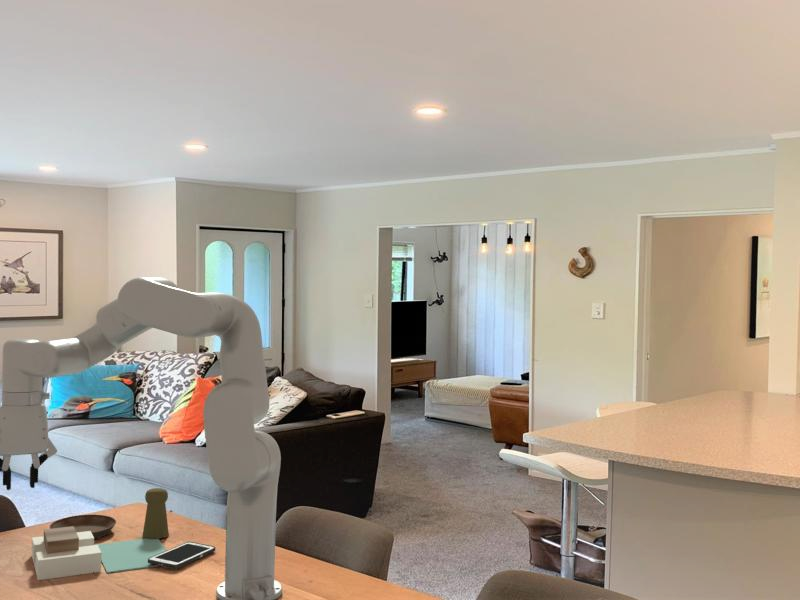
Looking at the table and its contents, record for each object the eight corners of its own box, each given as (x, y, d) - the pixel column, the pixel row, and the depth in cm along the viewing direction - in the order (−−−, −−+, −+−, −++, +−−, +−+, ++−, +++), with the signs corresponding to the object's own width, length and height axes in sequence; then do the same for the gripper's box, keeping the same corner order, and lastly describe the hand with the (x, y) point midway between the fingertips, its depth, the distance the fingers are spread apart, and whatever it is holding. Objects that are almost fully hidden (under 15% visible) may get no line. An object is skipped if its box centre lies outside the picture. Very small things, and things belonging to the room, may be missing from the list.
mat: (175, 563, 173) (175, 562, 173) (107, 573, 166) (107, 571, 166) (157, 538, 190) (157, 537, 190) (93, 546, 183) (94, 544, 183)
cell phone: (145, 563, 171) (145, 559, 171) (188, 545, 185) (189, 541, 185) (175, 570, 168) (175, 565, 168) (217, 551, 182) (217, 546, 182)
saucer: (93, 547, 183) (93, 535, 183) (35, 541, 186) (35, 529, 186) (127, 528, 198) (128, 517, 198) (73, 523, 201) (73, 512, 201)
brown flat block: (78, 549, 168) (78, 538, 168) (47, 553, 166) (47, 541, 166) (73, 537, 176) (73, 526, 176) (43, 541, 173) (43, 529, 173)
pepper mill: (140, 533, 193) (141, 487, 193) (166, 531, 195) (167, 485, 196) (144, 539, 187) (145, 491, 188) (170, 537, 190) (171, 490, 190)
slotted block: (101, 571, 167) (101, 552, 167) (37, 580, 162) (38, 560, 162) (90, 548, 181) (90, 530, 181) (31, 555, 176) (32, 537, 176)
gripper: (63, 395, 174) (61, 479, 174) (-24, 398, 166) (-26, 487, 166) (67, 399, 167) (65, 488, 168) (-24, 403, 159) (-25, 496, 160)
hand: (20, 486), depth 167 cm, fingers open, 3 cm apart
